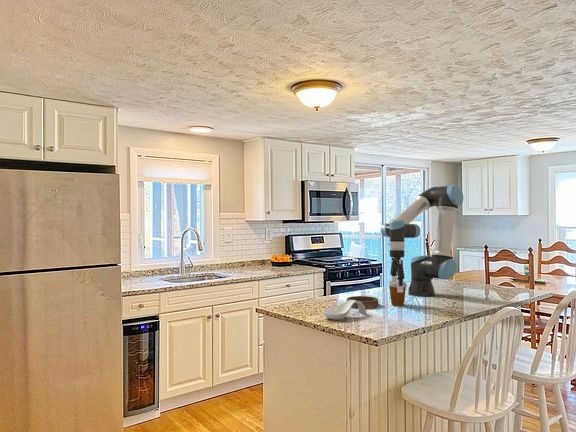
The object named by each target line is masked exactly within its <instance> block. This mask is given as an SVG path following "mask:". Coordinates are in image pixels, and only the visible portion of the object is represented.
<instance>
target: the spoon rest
mask: <svg viewBox="0 0 576 432" xmlns="http://www.w3.org/2000/svg"><path fill="white" fill-rule="evenodd" d="M354 303H357V304H358V308H357V309H358V310H357V311H358V313H359V314H363V315H365V314H367V310H366V309H365V306H364V305H363V303H361V302H360V301H355V300H349V301H347V300H346V301H344V302H342V303H339V304H337V305H333V306H331V307H328V308H326V309H323V310H322V313H323V315H324V317H326V318H328V319H329V320H334V321H338V320H339V321H341V320H344V319H345V318H346V317H347V316H348V314H349V312H350V311H351V309H352V308H351V307H352V305H353V304H354Z"/></svg>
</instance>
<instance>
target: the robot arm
mask: <svg viewBox="0 0 576 432" xmlns="http://www.w3.org/2000/svg"><path fill="white" fill-rule="evenodd" d="M463 202H464V194H463V191H462V189H461V188H460V187H459V186H457V185H442V186H441V185H440V186H433V187H430V188H428V189H426V190H424V191H423V192H422V193H420V194H418V195H417V196H416V197H415V201H413V203H411V204H410V205H408V207H406V208H405V209H404V210H403V211H402V212H401V213H400V214H398V215H397V216H396V217H395V218H394V219H392V220H390V221H389V223H384V224H382V225H381V227H380V233H381V235H382V236H383V237H385V238H389V243H388V245H389V249H390V250H389V257H390V258H391V265H390V273H389V274H390V275H391V276H390V277H391V280H390V281H398V292H403V282H404V279H405V271H404V260H403V259H401V258H405V245H406V244H405V239H414V238H418V237H419V236H421V232H422V231H421V227H420V225H418V224H416V223H412V222H413V221H414V220H415V219H416V218H418V216H420V215H421V214H422V213H423V212H424V211H427V210H429V209H430V208H433V207H436V209H437V211H438V217H437V218H438V219H437V226H436V228H437V229H436V236H435V247H434V252H432V253H431V254H427V255H416V256H415V255H414V256H412V257H411V258H410V278H411V279H410V280H411V281H410V283H409V287H408V290H407V292H408V294H407V295H410V296H414V295H415V297H432V295H433V296H435V295H436V291H435V287H434V285H433V282H432V279H437V280H443V281H444V280H450V279H452V278H453V277H454V276H455V275H456V272H457V269H458V268H457V266H458V265H457V262H456V261H455V260H454V256H453V254H452V253H451V250H452V241H453V232H454V224H455V223H454V222H455V213H456V212H457V211H458V210H459V206H461V205H463V204H464V203H463Z"/></svg>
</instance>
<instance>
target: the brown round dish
mask: <svg viewBox="0 0 576 432" xmlns="http://www.w3.org/2000/svg"><path fill="white" fill-rule="evenodd" d="M349 300H355V301H360V302H361V303H363V305H364V306H365V309H367V310H368V309H369V310H371V309H376V308H379V307H380V303H379V298H378V297H376V296H375V297H374V296H370V295H356V296H349V297H347V298H346V301H349ZM351 309H358V304H357V303H354V304H353V305H352V307H351Z"/></svg>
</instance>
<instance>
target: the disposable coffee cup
mask: <svg viewBox="0 0 576 432" xmlns="http://www.w3.org/2000/svg"><path fill="white" fill-rule="evenodd" d="M387 285H388V288H389V296H390V303H391V306H393V307H404V306H405V300H406V299H405V298H406V289H407V286H408V285H407V282H405V281H403V292H398V280H397V281H391V280H390V281H389V282H388V284H387Z"/></svg>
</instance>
